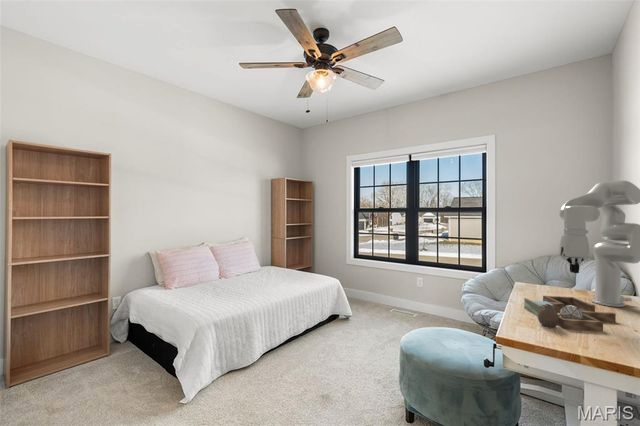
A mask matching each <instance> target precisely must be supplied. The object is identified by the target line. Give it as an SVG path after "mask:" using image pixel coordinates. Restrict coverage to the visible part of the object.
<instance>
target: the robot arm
mask: <svg viewBox="0 0 640 426" xmlns="http://www.w3.org/2000/svg"><path fill="white" fill-rule="evenodd" d="M639 204H640V188H639V187H638V186H637V185H636V184H634V183H633V182H630V181H628V180H612V181H611V180H610V181H609V180H608V181H600V182H598V183H596V184H595V185H594V186H593V187H592V188H590V190H589V191H588V192H587V193H586V194H582V195H580V196H577V197H574V198H572V199H569V200H567V201H566V202H565V203H564V204H563V205H562V207H561V208H560V209H559V217H560V219H561V220H563V227H564V228H563V234H562V235H561V238H560V241H559V249H558V250H559V251H558V254H559V256H561V257H560V259H561V260H564V261H566V262H567V263H568V264H569V272H570V273H573V274H579V273H580V265H581V264H582V263H583V262H584V261H589V257H590V244H589V242H590V241H589V240H588V239H589V238H588V236H586V234H589V230H587V229H586V228H587V227H586V223H588V222H590V223H591V222H595V221H597V220H598V219H599V218H600V214H601V212H602V220H601V225H600V233H599V235H600V238H601V239H602V240H604V241H602V242H598V243H595V245H594V246H593V248H592V252H593V256H594V262H595V263H594V264H595V266H594V267H595V273H594V275H595V277H594V281H595V286H594V287H595V288H594V291H595V292H594V293H595V294H594V297H591V298H590V301H591V302H592V303H595V304H597V305H600V306H607V307H614V308H615V307H616V308H622V307H623V308H624V307H625V306H626V304H625V302H630V303H631V302H632V300H633V299H632V297H625V296H622V294H621V293H622V291H621V290H622V287H621V286H622V285H621V284H622V270H621V268H620V266H619V265H617V263H623V264H638V263H640V224H639V223H633V222H632V223H631V222H625V221H626V213H625V212H624V211H623V210H622V209H621V208H620V207H619V206H624V205H626V206H629V205H630V206H632V205H634V206H635V205H639ZM599 208H600V209H599ZM600 210H601V211H600ZM605 240H606V241H611V242H605ZM619 242H627V243H619Z"/></svg>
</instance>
